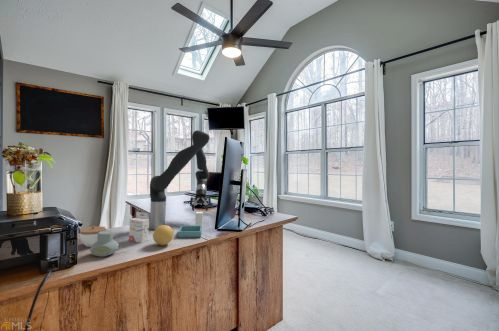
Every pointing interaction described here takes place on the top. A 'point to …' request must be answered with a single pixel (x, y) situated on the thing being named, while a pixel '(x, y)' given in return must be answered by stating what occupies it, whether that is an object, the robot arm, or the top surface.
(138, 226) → the ink cartridge box
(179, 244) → the top surface
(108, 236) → the air freshener
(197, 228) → the tray
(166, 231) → the stress ball
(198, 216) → the stop block
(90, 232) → the lidded jar
